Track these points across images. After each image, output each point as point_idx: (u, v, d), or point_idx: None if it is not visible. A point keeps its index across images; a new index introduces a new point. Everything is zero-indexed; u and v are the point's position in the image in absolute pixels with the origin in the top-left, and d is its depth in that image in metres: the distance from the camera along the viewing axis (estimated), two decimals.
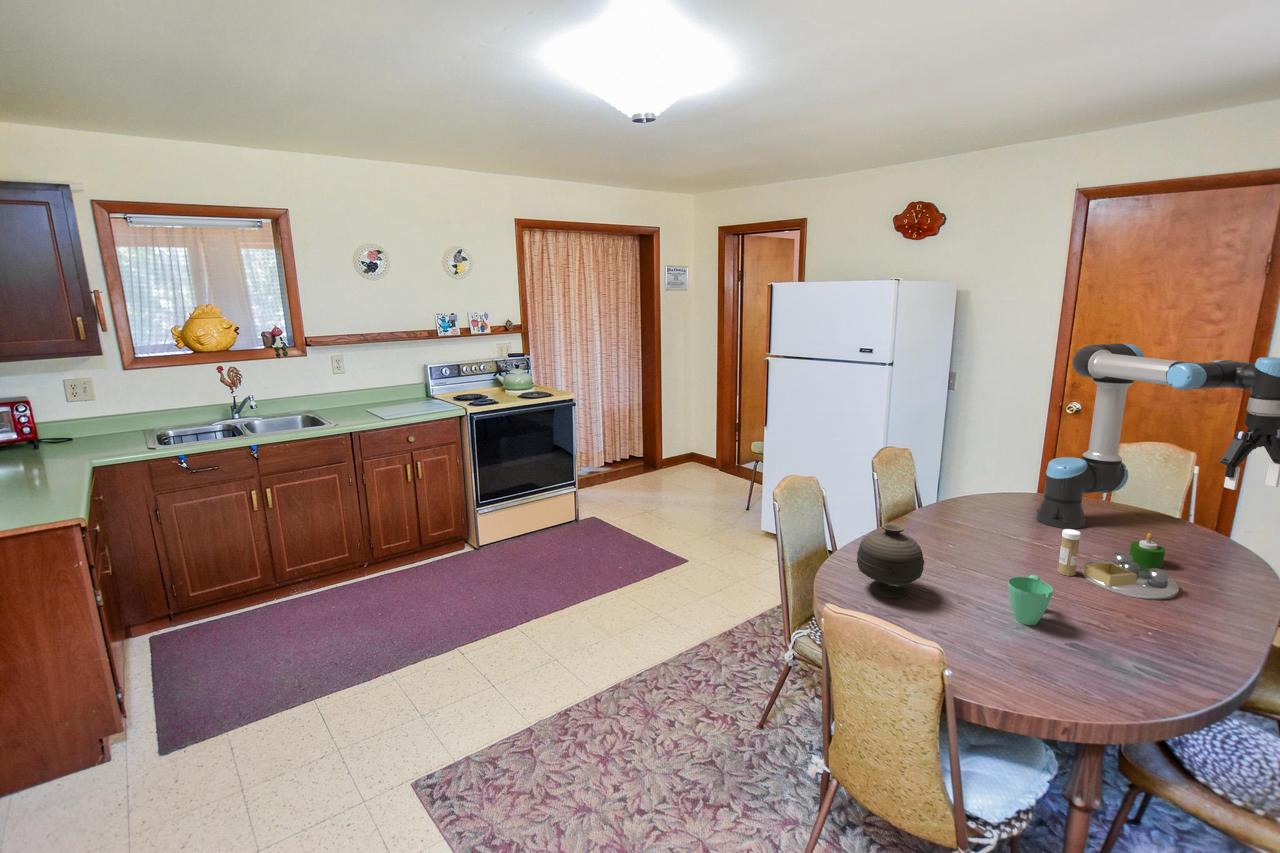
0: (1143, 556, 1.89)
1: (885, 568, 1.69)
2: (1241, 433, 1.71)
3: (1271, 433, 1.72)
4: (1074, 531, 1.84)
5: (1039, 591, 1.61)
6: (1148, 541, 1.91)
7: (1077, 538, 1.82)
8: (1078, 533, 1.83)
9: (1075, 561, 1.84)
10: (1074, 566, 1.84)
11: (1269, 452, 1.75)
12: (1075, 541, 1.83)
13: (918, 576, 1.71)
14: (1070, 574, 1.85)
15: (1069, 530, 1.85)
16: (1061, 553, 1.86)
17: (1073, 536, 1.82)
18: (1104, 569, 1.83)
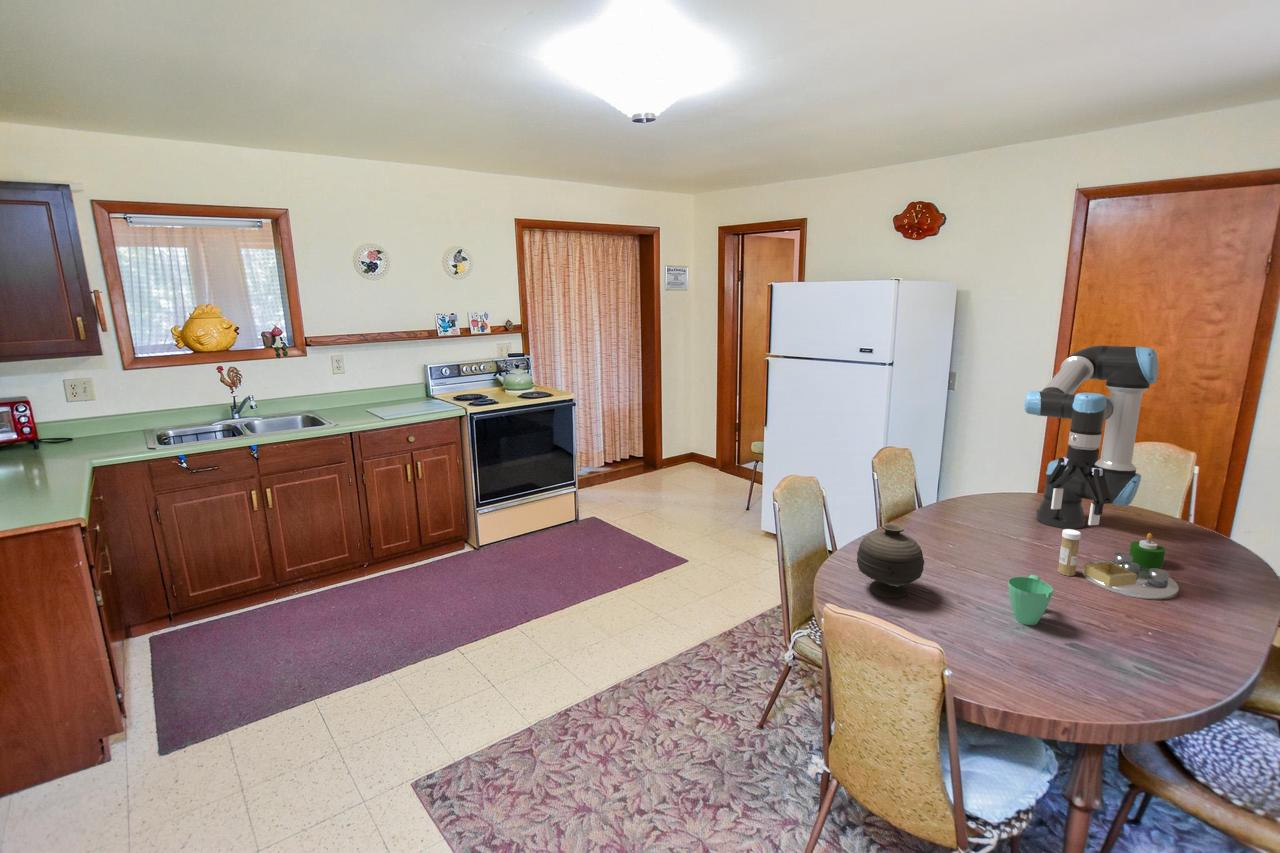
0: (1143, 556, 1.89)
1: (885, 568, 1.69)
2: None
3: (1082, 466, 1.78)
4: (1074, 531, 1.84)
5: (1039, 591, 1.61)
6: (1148, 541, 1.91)
7: (1077, 538, 1.82)
8: (1078, 533, 1.83)
9: (1075, 561, 1.84)
10: (1074, 566, 1.84)
11: None
12: (1075, 541, 1.83)
13: (918, 576, 1.71)
14: (1070, 574, 1.85)
15: (1069, 530, 1.85)
16: (1061, 553, 1.86)
17: (1073, 536, 1.82)
18: (1104, 569, 1.83)
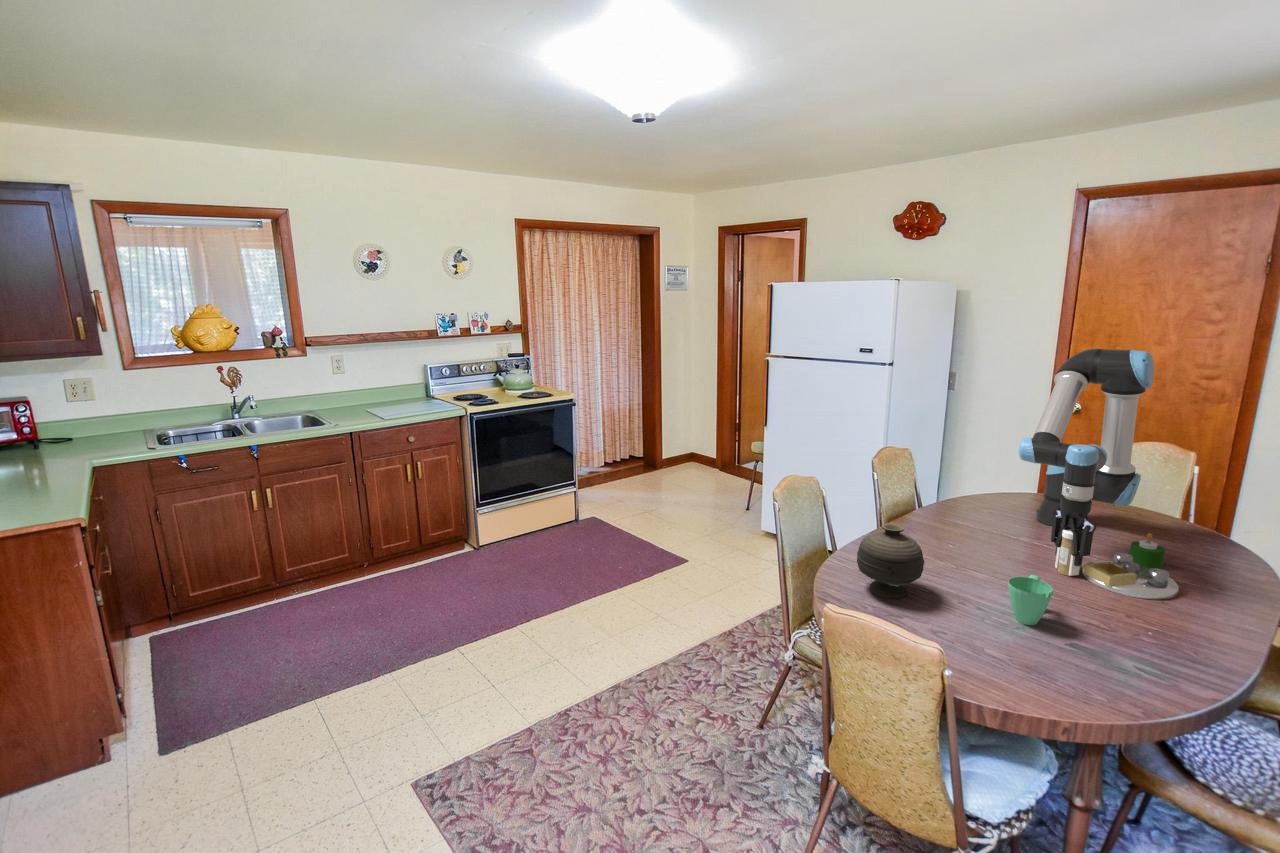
0: (1143, 556, 1.89)
1: (885, 568, 1.69)
2: None
3: (1076, 515, 1.81)
4: None
5: (1039, 591, 1.61)
6: (1148, 541, 1.91)
7: None
8: None
9: None
10: None
11: None
12: None
13: (918, 576, 1.71)
14: None
15: (1069, 530, 1.85)
16: (1061, 553, 1.86)
17: None
18: (1104, 569, 1.83)
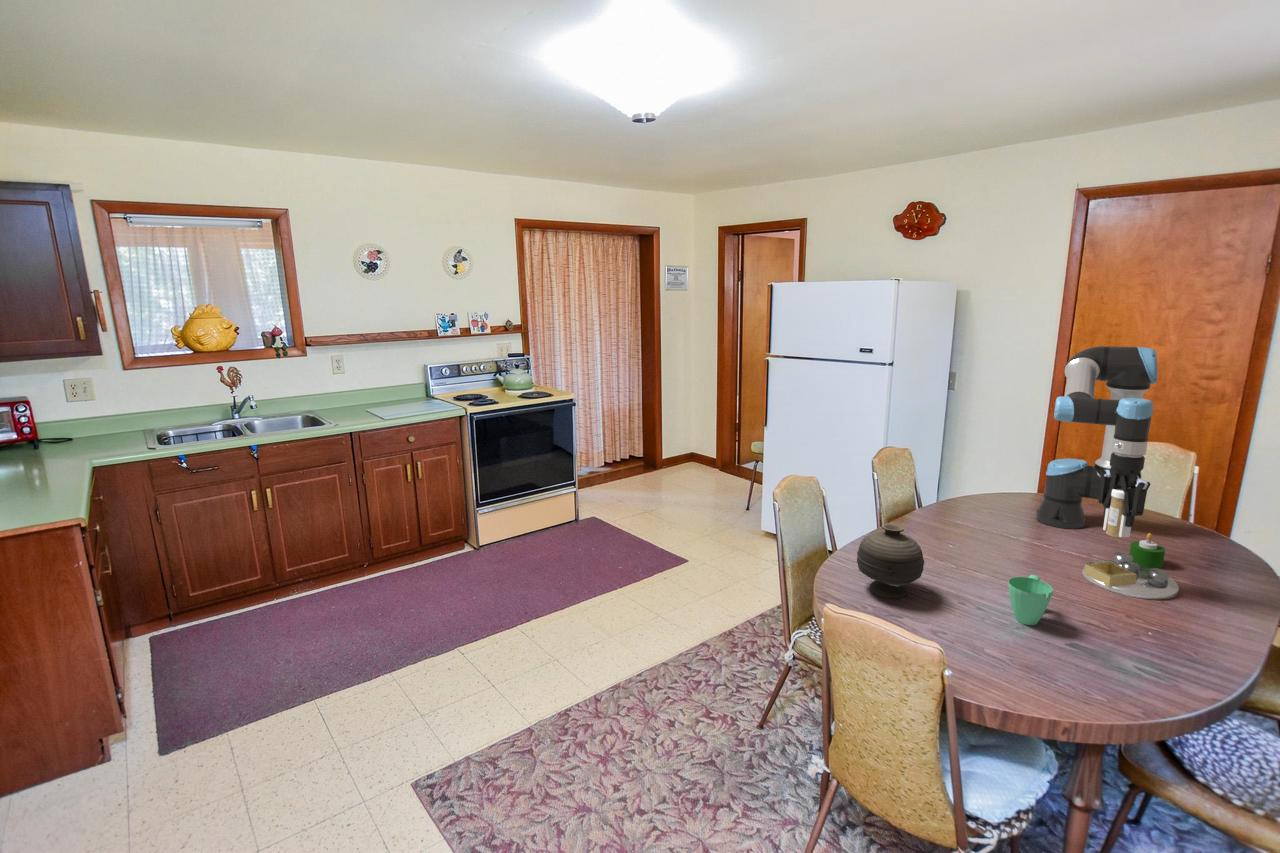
0: (1143, 556, 1.89)
1: (885, 568, 1.69)
2: None
3: (1128, 473, 1.71)
4: None
5: (1039, 591, 1.61)
6: (1148, 541, 1.91)
7: None
8: None
9: None
10: None
11: None
12: None
13: (918, 576, 1.71)
14: None
15: (1119, 489, 1.75)
16: (1110, 513, 1.75)
17: None
18: (1104, 569, 1.83)
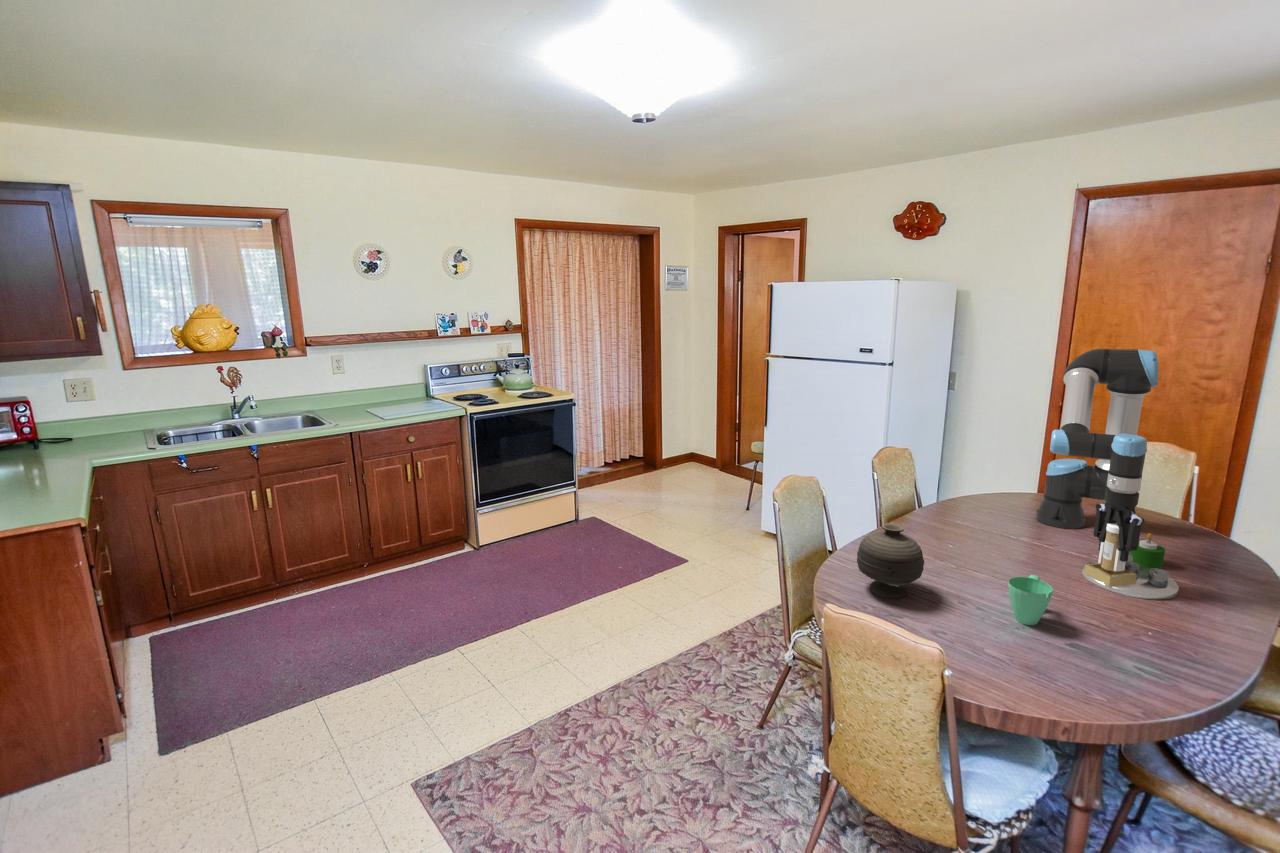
0: (1143, 556, 1.89)
1: (885, 568, 1.69)
2: None
3: (1123, 508, 1.73)
4: None
5: (1039, 591, 1.61)
6: (1148, 541, 1.91)
7: None
8: None
9: None
10: None
11: None
12: None
13: (918, 576, 1.71)
14: None
15: (1114, 524, 1.77)
16: (1105, 547, 1.78)
17: None
18: (1104, 569, 1.83)
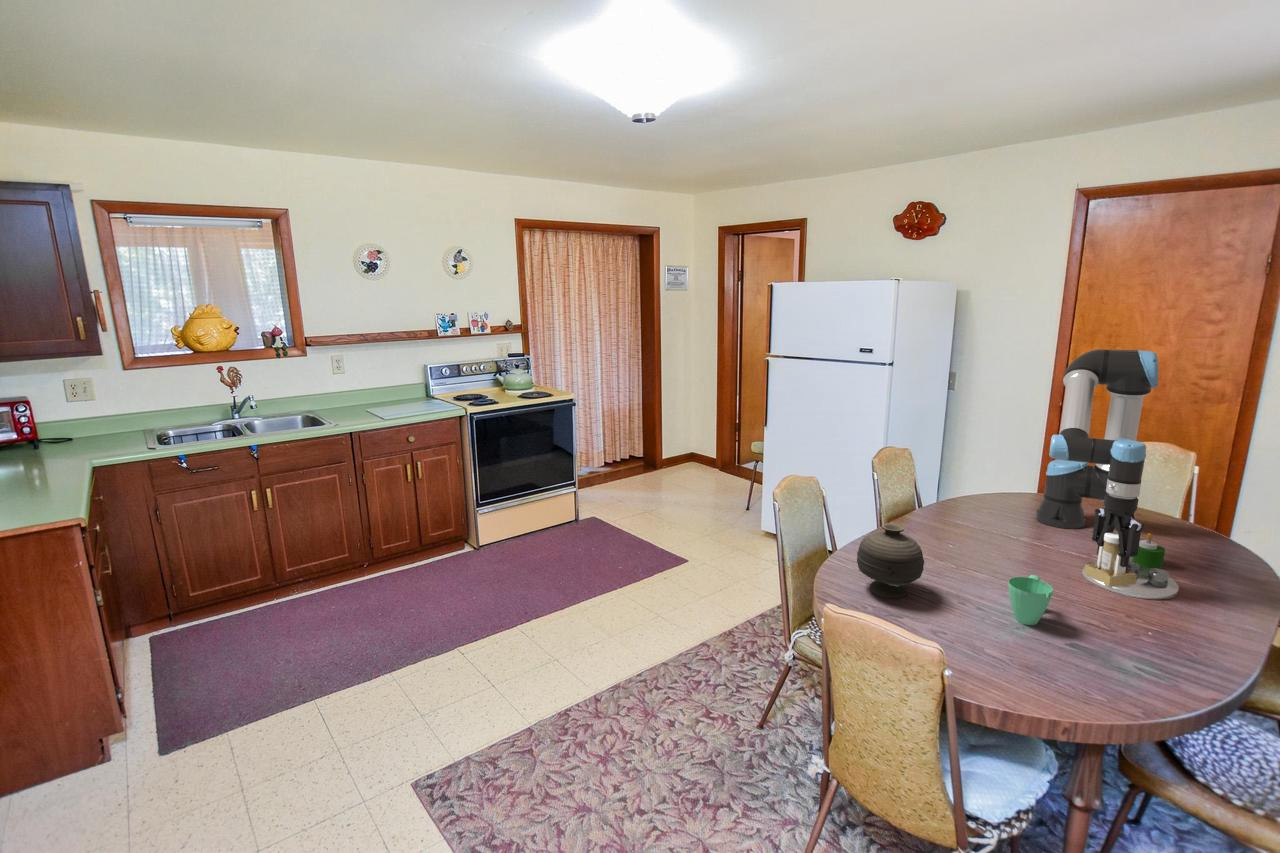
0: (1143, 556, 1.89)
1: (885, 568, 1.69)
2: None
3: (1122, 514, 1.73)
4: (1117, 535, 1.77)
5: (1039, 591, 1.61)
6: (1148, 541, 1.91)
7: None
8: None
9: None
10: None
11: None
12: (1118, 545, 1.75)
13: (918, 576, 1.71)
14: None
15: (1111, 534, 1.78)
16: (1103, 557, 1.78)
17: (1116, 540, 1.75)
18: None
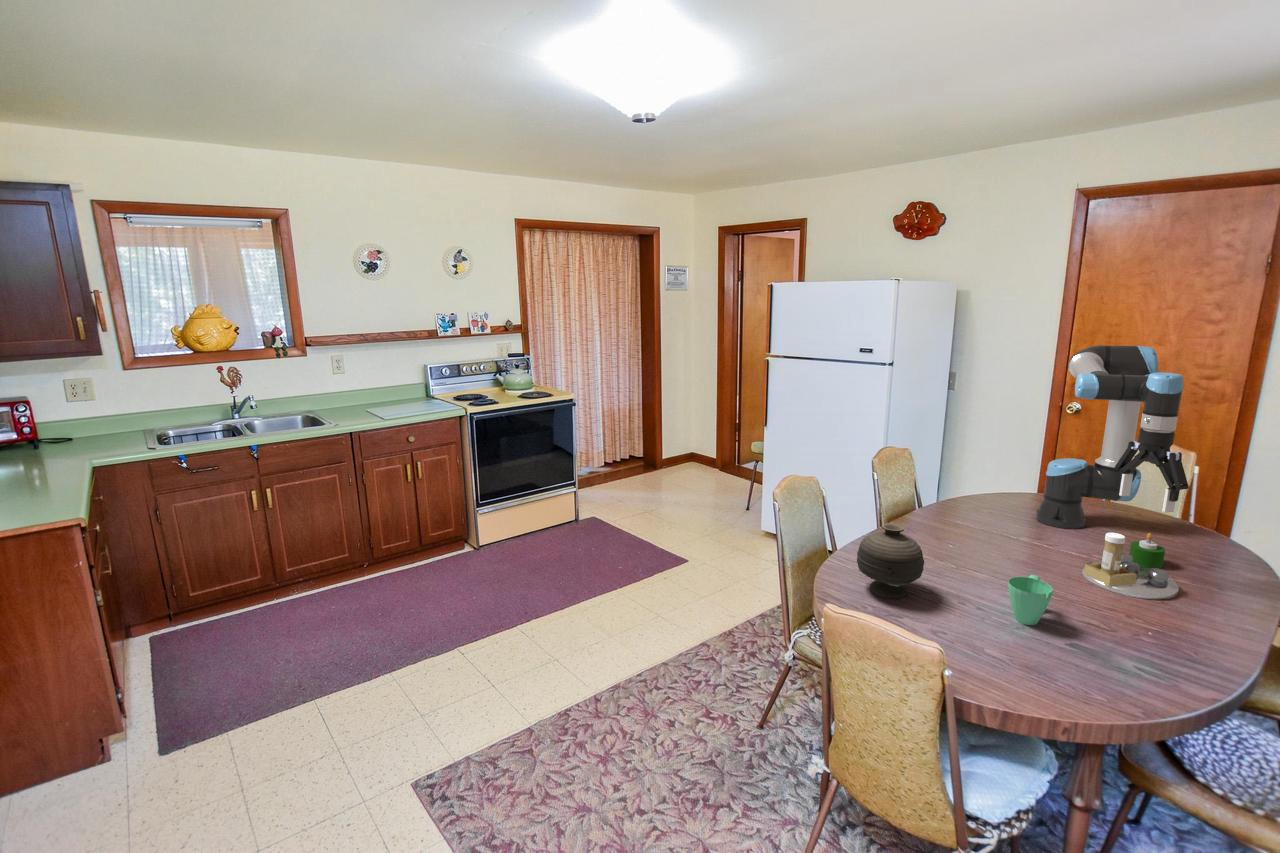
0: (1143, 556, 1.89)
1: (885, 568, 1.69)
2: None
3: (1156, 450, 1.68)
4: (1118, 535, 1.77)
5: (1039, 591, 1.61)
6: (1148, 541, 1.91)
7: (1121, 542, 1.75)
8: (1122, 537, 1.75)
9: (1119, 566, 1.77)
10: (1118, 571, 1.77)
11: None
12: (1119, 545, 1.75)
13: (918, 576, 1.71)
14: None
15: (1113, 534, 1.78)
16: (1104, 557, 1.78)
17: (1118, 540, 1.75)
18: None
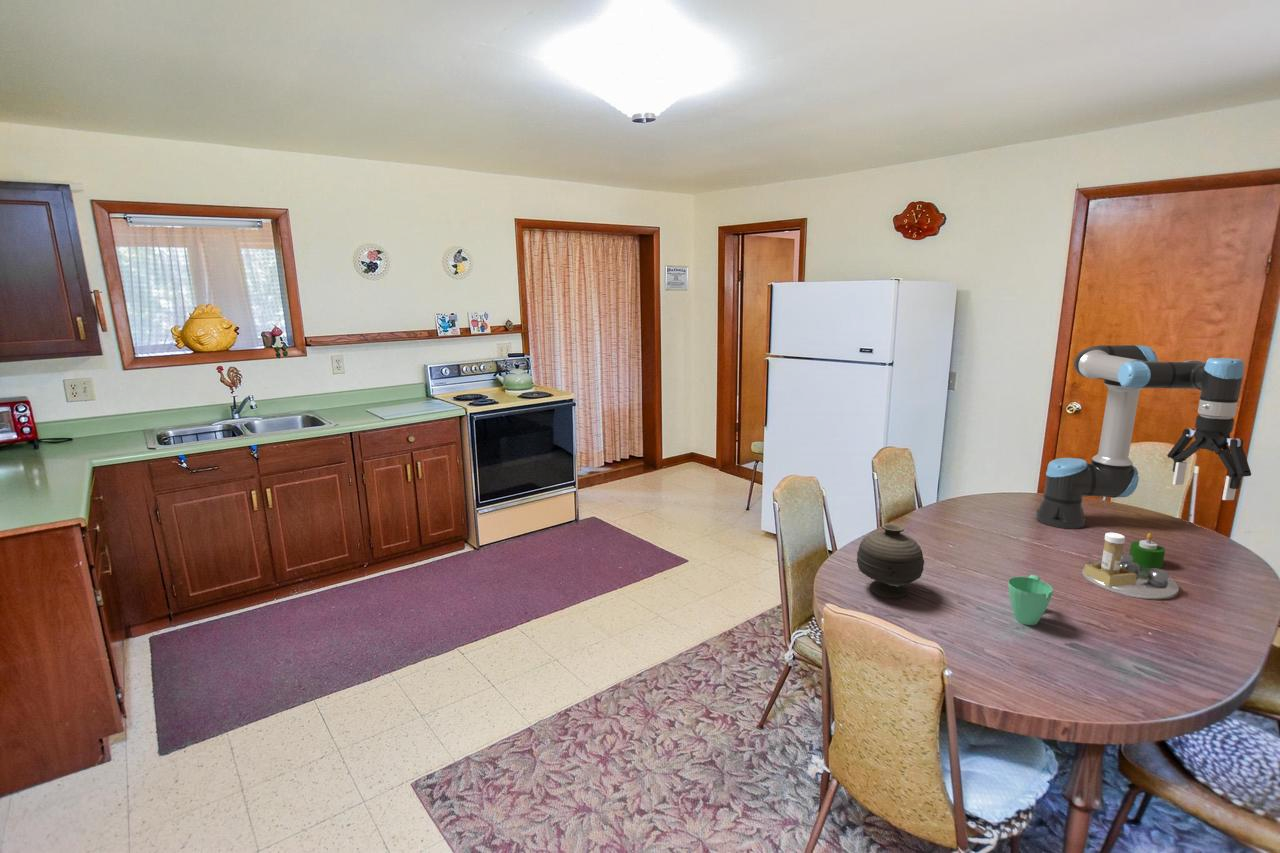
0: (1143, 556, 1.89)
1: (885, 568, 1.69)
2: None
3: (1215, 437, 1.65)
4: (1118, 535, 1.77)
5: (1039, 591, 1.61)
6: (1148, 541, 1.91)
7: (1121, 542, 1.75)
8: (1122, 537, 1.75)
9: (1119, 566, 1.77)
10: (1118, 571, 1.77)
11: None
12: (1119, 545, 1.75)
13: (918, 576, 1.71)
14: None
15: (1112, 534, 1.78)
16: (1104, 557, 1.78)
17: (1117, 540, 1.75)
18: None
